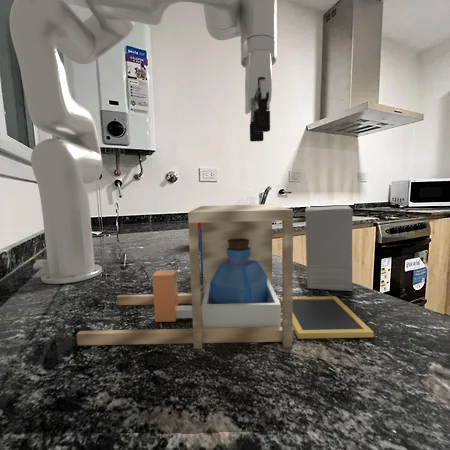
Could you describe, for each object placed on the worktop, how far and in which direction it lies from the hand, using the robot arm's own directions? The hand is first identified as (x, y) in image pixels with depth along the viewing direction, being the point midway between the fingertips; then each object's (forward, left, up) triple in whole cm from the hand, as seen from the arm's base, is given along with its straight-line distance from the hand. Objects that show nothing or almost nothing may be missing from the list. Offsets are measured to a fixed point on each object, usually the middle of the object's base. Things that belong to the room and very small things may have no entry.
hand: (259, 136), depth 58 cm
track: (-13, -23, -31) cm, 41 cm away
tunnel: (-6, -23, -31) cm, 39 cm away
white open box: (-10, -23, -31) cm, 40 cm away
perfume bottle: (-6, -23, -31) cm, 39 cm away
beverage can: (-11, 0, -31) cm, 33 cm away
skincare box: (+12, -10, -31) cm, 35 cm away
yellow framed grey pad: (+6, -23, -31) cm, 39 cm away
